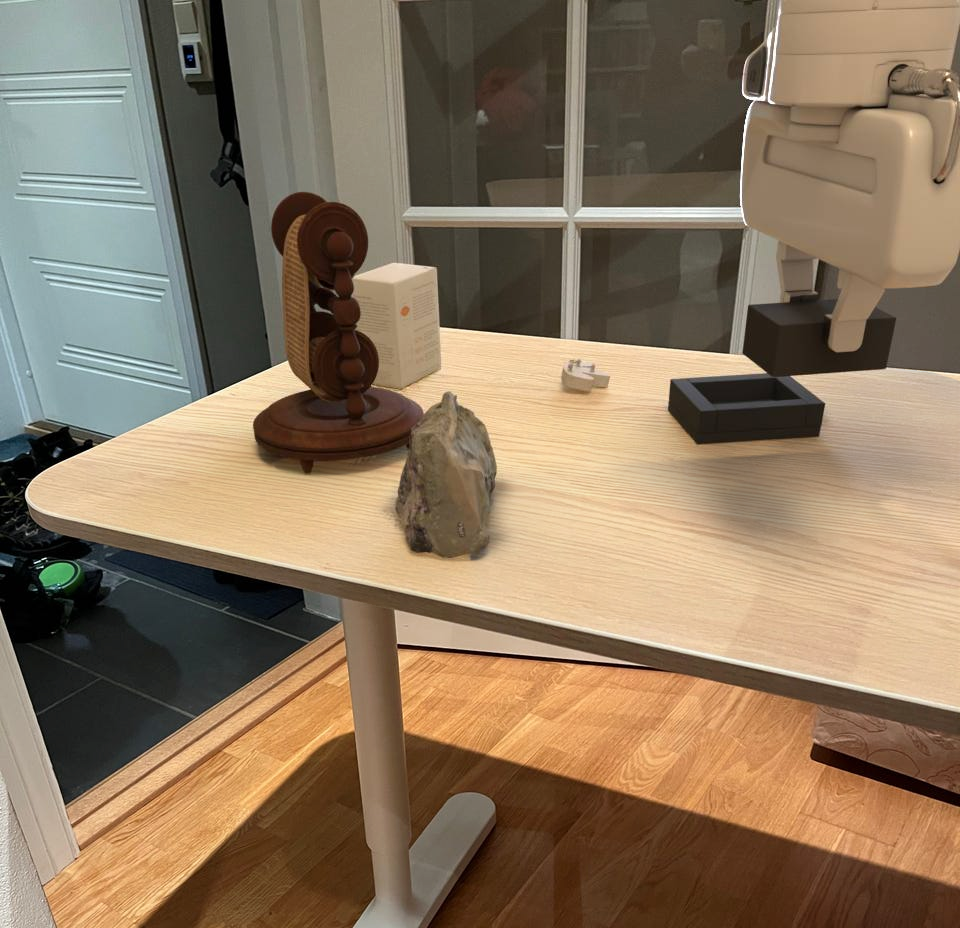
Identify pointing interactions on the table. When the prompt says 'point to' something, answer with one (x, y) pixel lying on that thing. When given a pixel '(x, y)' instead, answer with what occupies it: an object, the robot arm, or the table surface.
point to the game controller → (581, 375)
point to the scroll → (328, 344)
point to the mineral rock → (447, 482)
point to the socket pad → (744, 408)
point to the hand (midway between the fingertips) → (816, 333)
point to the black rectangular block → (811, 340)
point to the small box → (400, 321)
